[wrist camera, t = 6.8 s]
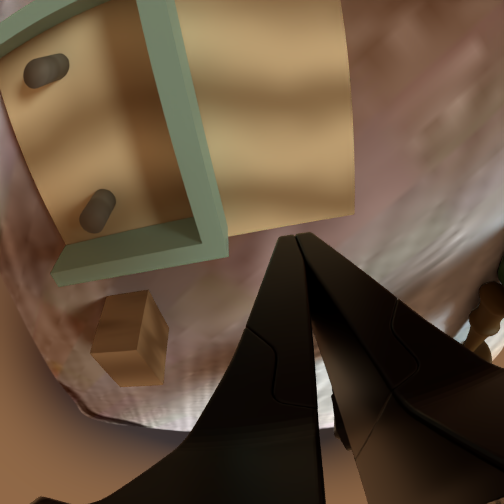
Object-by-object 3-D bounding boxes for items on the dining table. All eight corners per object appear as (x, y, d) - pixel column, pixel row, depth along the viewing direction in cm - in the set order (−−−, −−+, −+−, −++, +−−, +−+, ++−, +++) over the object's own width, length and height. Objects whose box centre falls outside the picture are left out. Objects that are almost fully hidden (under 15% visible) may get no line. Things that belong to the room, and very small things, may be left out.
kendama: (512, 271, 29) (457, 367, 41) (458, 280, 29) (407, 380, 41) (537, 304, 24) (470, 396, 36) (484, 320, 24) (419, 413, 36)
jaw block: (169, 327, 28) (163, 384, 23) (130, 332, 28) (120, 386, 24) (148, 289, 25) (136, 350, 20) (106, 295, 25) (89, 353, 20)
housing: (227, 226, 20) (228, 256, 18) (72, 258, 21) (58, 287, 18) (166, -38, 10) (154, -52, 8) (-12, 48, 11) (-42, 56, 8)
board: (348, 205, 22) (367, 236, 19) (82, 255, 22) (67, 289, 19) (320, -62, 10) (342, -80, 8) (-2, 35, 11) (-38, 42, 8)
